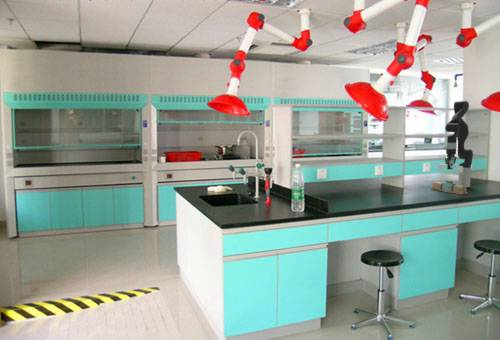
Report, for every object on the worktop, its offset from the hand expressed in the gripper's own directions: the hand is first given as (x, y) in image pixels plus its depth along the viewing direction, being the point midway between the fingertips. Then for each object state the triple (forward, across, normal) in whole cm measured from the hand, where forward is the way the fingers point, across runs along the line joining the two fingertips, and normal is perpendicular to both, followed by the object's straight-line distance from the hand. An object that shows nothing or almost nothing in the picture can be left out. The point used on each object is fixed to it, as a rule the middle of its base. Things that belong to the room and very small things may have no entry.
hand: (450, 169), depth 348 cm
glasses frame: (+2, 0, 0) cm, 2 cm away
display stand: (+18, 0, 0) cm, 18 cm away
